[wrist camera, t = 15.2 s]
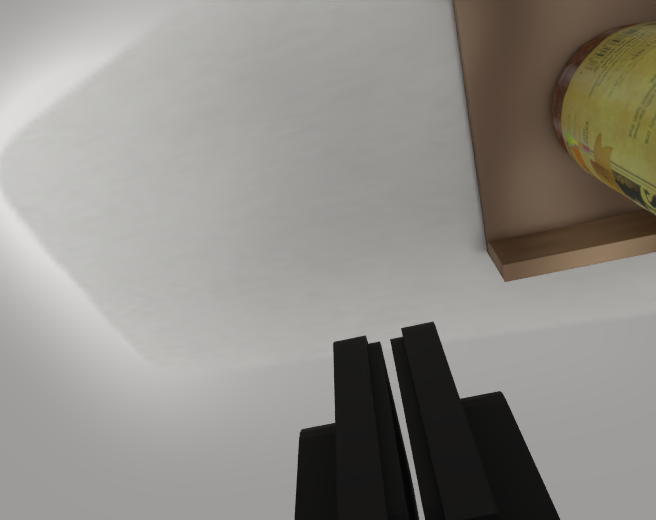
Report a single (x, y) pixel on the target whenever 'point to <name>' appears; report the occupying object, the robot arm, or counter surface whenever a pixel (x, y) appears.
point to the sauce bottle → (612, 110)
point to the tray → (540, 136)
